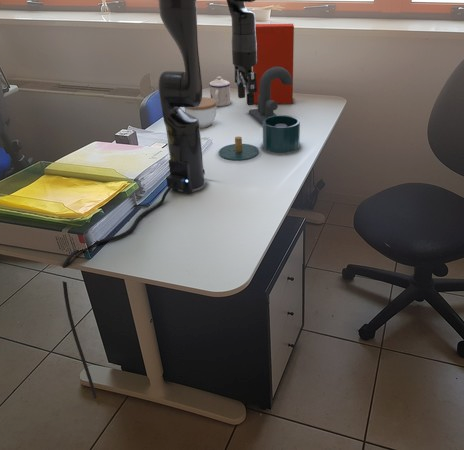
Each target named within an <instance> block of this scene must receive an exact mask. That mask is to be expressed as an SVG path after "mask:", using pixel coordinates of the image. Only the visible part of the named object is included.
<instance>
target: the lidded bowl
mask: <svg viewBox="0 0 464 450" xmlns="http://www.w3.org/2000/svg"><path fill="white" fill-rule="evenodd" d="M183 108H184V112H186V113H188V114H190V115H192V116H194V117H196V118H197V119H198V120H199V125H200V129H202V128H209V127H210V126H212V123H213V122H214V121H215V119H216V116H217V106H216V100H215V99H212V98H211V97H208V96H207V97H205V96H202V100H201V103H200V105H199V106H198V107H194V108H190V107H183Z"/></svg>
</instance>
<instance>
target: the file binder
mask: <svg viewBox="0 0 464 450" xmlns="http://www.w3.org/2000/svg"><path fill="white" fill-rule="evenodd" d="M255 33H256V41H257V64H256V65H254V66H252V71H253V72H256V78H257V92H255V93H254V105H258V95H259V94H260V88H259V87H260V80H261V77H262V75H263V74H264V73H265V72H266V71H267V70H268V69H270V68H273V67H282V68H284V69H286V70H287V71H288V72H289V73H290V75H291V78H292V84H291V85H284V84H282V82H281V80H280V79H278V78H276V79H274V80H273V81H272V82H271V100H273V101H275V102H276V103H277V104H278V105H279V104H293V101H294V100H293V99H294V98H293V97H294V92H293V91H294V49H295V48H294V47H295V45H294V44H295V42H294V41H295V25H294V23H255Z"/></svg>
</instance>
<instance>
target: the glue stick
mask: <svg viewBox="0 0 464 450" xmlns="http://www.w3.org/2000/svg"><path fill="white" fill-rule="evenodd" d="M275 127H287V125H286V124H276V125H275Z"/></svg>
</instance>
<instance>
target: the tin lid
mask: <svg viewBox="0 0 464 450" xmlns="http://www.w3.org/2000/svg"><path fill="white" fill-rule="evenodd" d="M259 154H260V149H259V148H258V147H257V146H255V145H253V144H249V143H243V138H242V136H235V137H234V143H231V144H227V145H225V146H222V147H221V148H220V149H219V150H218V155H219V156H220V157H221V158H222V159H224V160H228V161H233V162H234V161H235V162H237V161H238V162H240V161H241V162H242V161H248V160H251V159H254V158H256V157H257V156H258V155H259Z"/></svg>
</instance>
